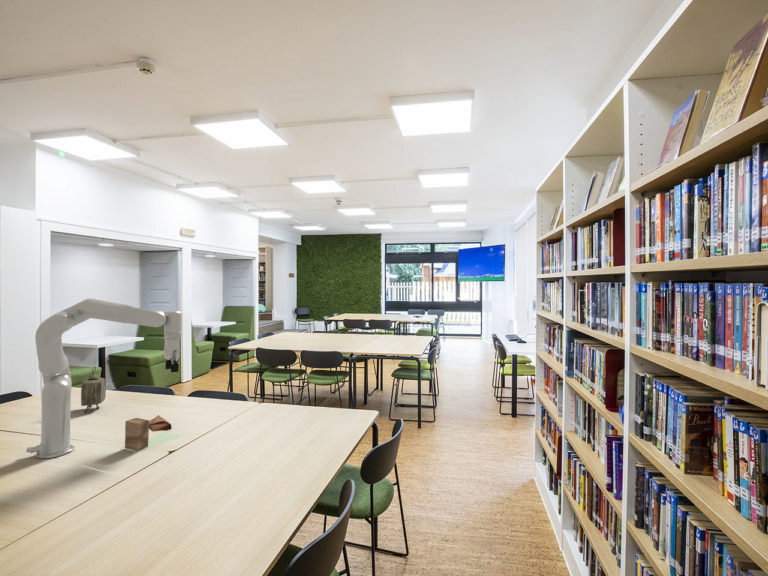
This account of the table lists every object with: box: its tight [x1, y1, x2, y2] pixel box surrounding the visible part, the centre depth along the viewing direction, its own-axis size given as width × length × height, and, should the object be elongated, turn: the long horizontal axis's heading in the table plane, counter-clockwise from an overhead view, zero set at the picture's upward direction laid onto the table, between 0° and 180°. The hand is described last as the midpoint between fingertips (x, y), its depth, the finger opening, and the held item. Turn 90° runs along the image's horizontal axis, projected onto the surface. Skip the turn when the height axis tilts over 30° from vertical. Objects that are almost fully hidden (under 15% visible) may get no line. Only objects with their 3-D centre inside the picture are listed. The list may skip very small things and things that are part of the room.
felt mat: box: [120, 432, 181, 454], centre depth 180 cm, size 22×11×1 cm, turn 158°
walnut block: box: [124, 417, 150, 451], centre depth 173 cm, size 5×8×12 cm, turn 68°
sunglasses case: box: [149, 414, 172, 432], centre depth 202 cm, size 18×7×7 cm
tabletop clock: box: [80, 366, 107, 413], centre depth 228 cm, size 14×9×25 cm, turn 25°
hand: (171, 370), depth 194 cm, fingers open, 9 cm apart
